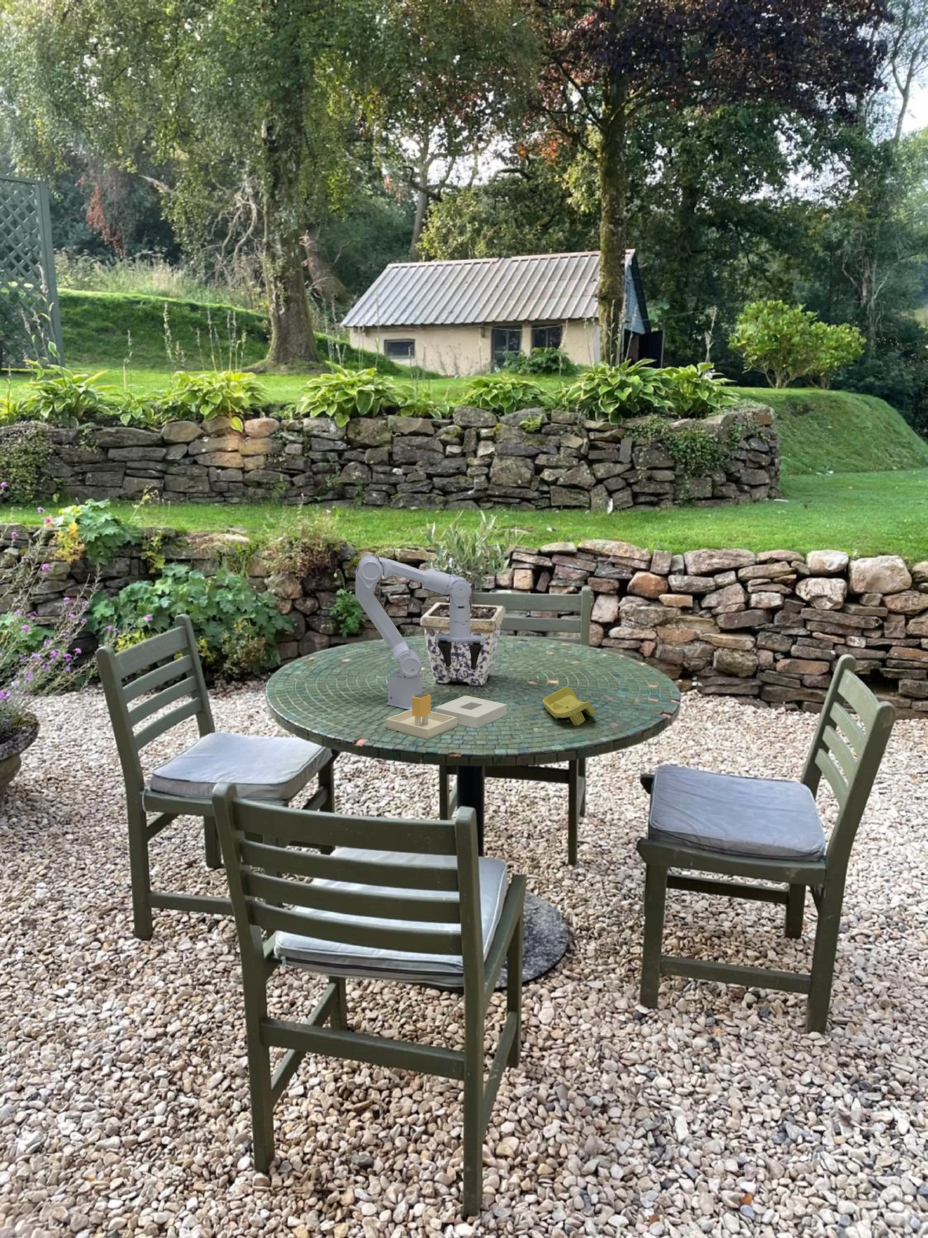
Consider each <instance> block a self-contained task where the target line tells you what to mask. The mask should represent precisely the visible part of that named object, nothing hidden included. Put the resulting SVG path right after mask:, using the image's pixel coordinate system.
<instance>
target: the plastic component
mask: <svg viewBox="0 0 928 1238" xmlns="http://www.w3.org/2000/svg"><path fill="white" fill-rule="evenodd" d="M541 702H542V703H543V706H544V707H545V710H546V711H547V712H548V713H549V714H551V716H553V717H554V718H555V719H560V718H561V719H563V718H569V719H570V720H571V723H572V725H573V726H579V725H581V724H583V723H584V721H586V719H585V717H584V714H583V712H584V713H586V714H587V716H589V717H593V716H595V715H596V711H595V709H594V707H593V705H592V703H591V702H590V701H581V700H579V699H578V697H577V695H576V694H575V693H574V691H573V690H572V688H571V687H570V686H564V687H562V688H561V689H559V690H557V691H555V692H553V693H550V694H548V695H546V697H544V698H543V699H542V701H541Z"/></svg>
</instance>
